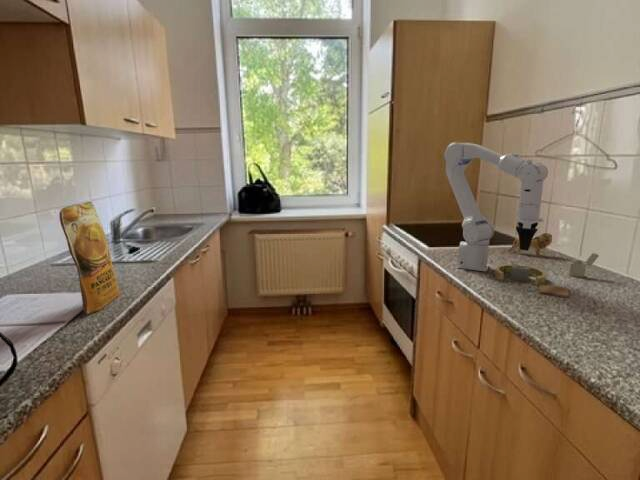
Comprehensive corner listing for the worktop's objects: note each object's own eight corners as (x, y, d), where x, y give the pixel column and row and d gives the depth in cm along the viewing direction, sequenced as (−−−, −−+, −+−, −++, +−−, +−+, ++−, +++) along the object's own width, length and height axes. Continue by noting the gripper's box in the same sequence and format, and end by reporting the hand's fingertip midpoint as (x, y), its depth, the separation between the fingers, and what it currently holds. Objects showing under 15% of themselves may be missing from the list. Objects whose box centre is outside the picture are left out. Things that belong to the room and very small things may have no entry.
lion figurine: (548, 254, 144) (551, 231, 142) (551, 257, 139) (554, 234, 137) (506, 251, 149) (509, 229, 147) (507, 254, 145) (510, 232, 143)
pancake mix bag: (66, 318, 93) (46, 209, 87) (105, 291, 112) (90, 199, 106) (93, 317, 94) (75, 208, 87) (128, 290, 112) (114, 199, 106)
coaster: (539, 293, 104) (539, 291, 104) (539, 285, 110) (539, 284, 110) (568, 297, 101) (568, 295, 101) (567, 289, 107) (567, 287, 107)
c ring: (493, 279, 116) (494, 272, 116) (498, 267, 129) (499, 260, 128) (545, 287, 109) (546, 279, 109) (545, 273, 122) (546, 265, 121)
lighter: (569, 275, 119) (572, 251, 117) (567, 274, 120) (571, 250, 119) (595, 278, 116) (599, 253, 114) (593, 276, 118) (597, 252, 116)
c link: (510, 279, 116) (511, 267, 115) (511, 275, 120) (512, 263, 119) (528, 281, 114) (529, 269, 113) (528, 278, 117) (530, 266, 116)
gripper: (545, 207, 103) (539, 254, 106) (545, 201, 115) (539, 243, 119) (517, 206, 107) (512, 251, 110) (519, 200, 119) (515, 241, 122)
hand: (524, 247), depth 114 cm, fingers open, 7 cm apart
